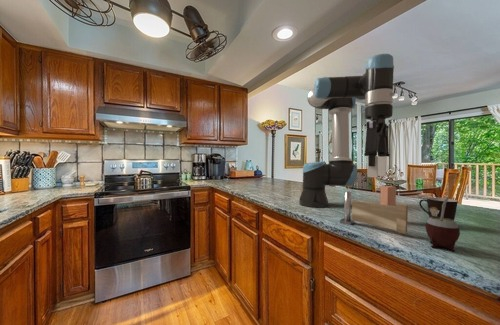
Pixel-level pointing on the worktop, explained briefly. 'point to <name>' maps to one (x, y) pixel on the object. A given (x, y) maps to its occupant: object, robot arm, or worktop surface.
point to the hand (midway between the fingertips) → (377, 176)
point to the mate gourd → (442, 231)
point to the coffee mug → (440, 207)
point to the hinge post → (347, 209)
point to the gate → (381, 215)
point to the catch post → (388, 195)
